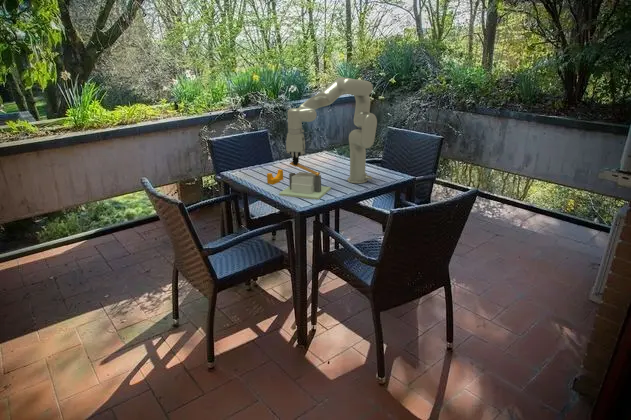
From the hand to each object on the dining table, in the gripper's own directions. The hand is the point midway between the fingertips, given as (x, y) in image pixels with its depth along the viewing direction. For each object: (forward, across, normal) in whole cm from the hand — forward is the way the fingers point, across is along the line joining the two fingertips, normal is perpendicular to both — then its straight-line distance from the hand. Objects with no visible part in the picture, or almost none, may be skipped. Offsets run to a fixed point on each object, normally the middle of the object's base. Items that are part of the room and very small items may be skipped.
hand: (295, 163), depth 238 cm
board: (+16, -6, 0) cm, 17 cm away
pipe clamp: (+17, +20, -14) cm, 30 cm away
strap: (+3, -5, 0) cm, 6 cm away
